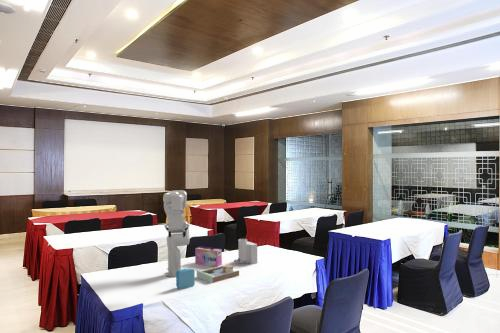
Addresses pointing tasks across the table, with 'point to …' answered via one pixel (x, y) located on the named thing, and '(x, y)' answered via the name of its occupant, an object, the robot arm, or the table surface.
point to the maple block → (227, 268)
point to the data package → (185, 278)
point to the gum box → (208, 256)
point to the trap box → (216, 274)
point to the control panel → (247, 252)
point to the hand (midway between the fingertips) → (177, 237)
